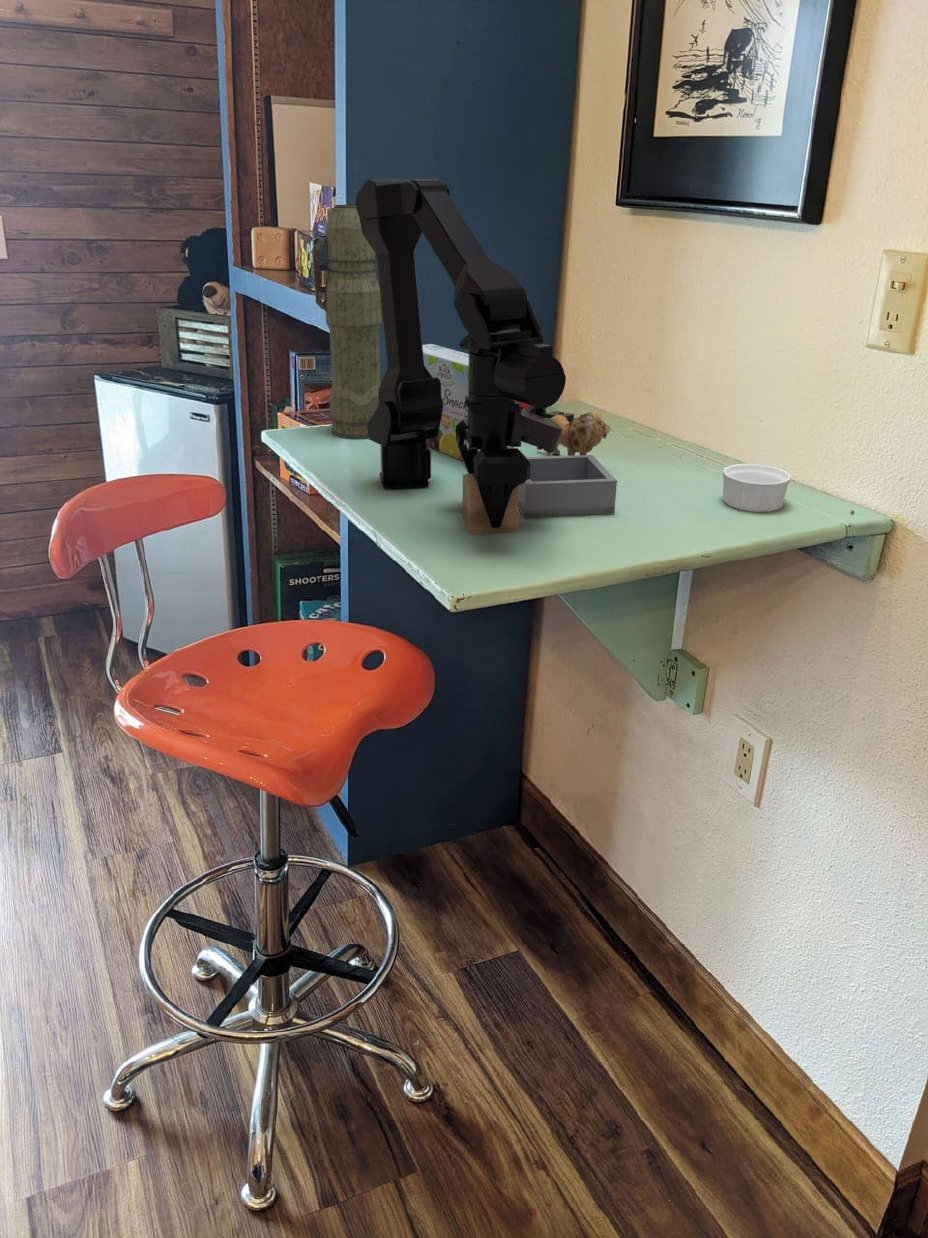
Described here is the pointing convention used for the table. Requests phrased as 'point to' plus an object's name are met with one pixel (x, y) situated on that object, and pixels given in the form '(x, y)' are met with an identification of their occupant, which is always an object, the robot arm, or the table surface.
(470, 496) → the walnut cube
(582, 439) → the lion figurine
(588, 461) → the grey square tray
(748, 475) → the ramekin
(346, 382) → the thermos
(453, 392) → the snack box
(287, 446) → the table surface
